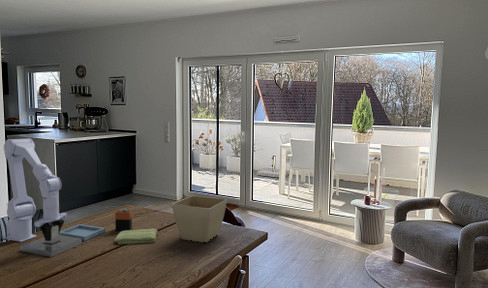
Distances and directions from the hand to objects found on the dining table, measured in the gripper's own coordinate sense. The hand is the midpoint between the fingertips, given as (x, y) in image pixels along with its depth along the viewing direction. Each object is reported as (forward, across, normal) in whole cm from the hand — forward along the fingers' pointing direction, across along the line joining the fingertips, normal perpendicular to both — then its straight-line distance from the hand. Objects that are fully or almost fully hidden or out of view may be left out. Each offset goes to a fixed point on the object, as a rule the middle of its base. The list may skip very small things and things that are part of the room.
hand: (51, 238), depth 153 cm
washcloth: (+4, +22, -26) cm, 34 cm away
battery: (+4, +30, -13) cm, 33 cm away
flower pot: (+4, +35, -51) cm, 62 cm away
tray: (+3, +17, 0) cm, 17 cm away
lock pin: (+3, 0, 0) cm, 3 cm away
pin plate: (+3, 0, 0) cm, 3 cm away
